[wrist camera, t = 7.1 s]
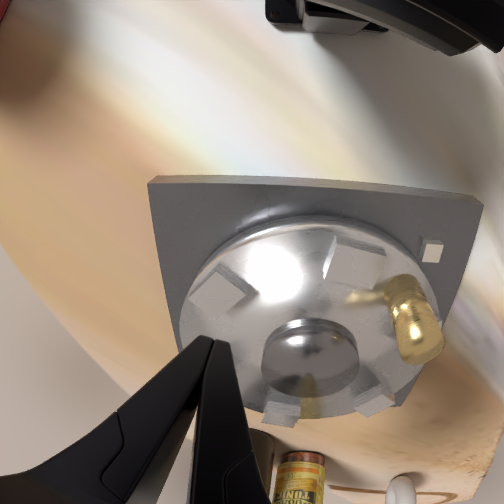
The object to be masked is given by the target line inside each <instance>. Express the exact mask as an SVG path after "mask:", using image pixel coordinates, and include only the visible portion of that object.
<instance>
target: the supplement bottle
mask: <svg viewBox="0 0 504 504" xmlns="http://www.w3.org/2000/svg"><path fill="white" fill-rule="evenodd" d="M249 431H250V436H251V440H252V444H253V448H254V450H253V451H254V452H255V456H256V460H257V464H258V467H259V471H260V474H261V477H262V481H263V484H264V486H265V489H266V492H267V494H268V497H269V493H270V485H271V477H272V469H273V461H274V451H275V442H274V440H273V439H272V438H271V437H270V436H269V435H268V434H266V433H264V432H262V431H259V430H255V429H250V428H249Z"/></svg>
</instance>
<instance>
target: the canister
mask: <svg viewBox="0 0 504 504" xmlns="http://www.w3.org/2000/svg"><path fill="white" fill-rule="evenodd" d="M9 2H10V0H0V21H1V19H2V17H3V15H4V13H5V11H6V9H7V6H8V4H9Z"/></svg>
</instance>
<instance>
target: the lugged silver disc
mask: <svg viewBox="0 0 504 504" xmlns="http://www.w3.org/2000/svg"><path fill="white" fill-rule="evenodd" d="M179 326H180V338H181V342H182V347H183V349H184V348H185V347H187V346H188V345H189V344H190V343H191V342H192V341H193V340H194V339H195V338H196V337H197V336H199V335H204V336H208V337H212V338H213V339H214V340H215V339H219V340H223V341H227V342H229V343H230V346H231V351H232V355H233V360H234V365H235V369H236V374H237V379H238V383H239V388H240V392H241V397H242V401H243V406H244V407H246V408H248V409H251V410H254V411H257V412H261V413H263V414H262V422H261V423H266V424H272V425H278V426H284V427H291V428H293V427H294V425H295V424H296V422H297V421H298V419H318V418H328V417H335V416H340V415H345V414H349V413H353V412H356V411H357V412H359V413H361V414H362V415H364V416H366V417H369V416H372V415H374V414H376V413H378V412H380V411H382V410H384V409H386V408H388V407H390V406H392V405H394V404H395V397H394V393H396V392H397V391H398V390H400V389H401V388H403V387H404V386H405V385H406V384H407V383H408V382H409V381H411V380H412V379H413V378H414V376H415V375H416V374H417V373H418V372H419V371H420V370H421V368H422V367H423V365H424V364H425V363H426V362H429V361H431V360H432V359H434V358H435V357H436V356H438V355H439V354H440V352H441V351H442V350H443V348H444V345H445V339H444V336H443V334H442V331H441V328H442V320H441V318H440V315H439V310H438V305H437V301H436V298H435V295H434V293H433V290H432V288H431V286H430V284H429V282H428V280H427V278H426V276H425V274H424V272H423V271H422V269H421V267H420V265H419V264H418V263H417V261H416V260H415V258H414V257H413V255H412V254H411V253H410V252H409V251H408V250H407V249H406V248H405V247H404V246H403V245H402V244H401V243H399V242H398V241H397V240H395V239H394V238H393V237H391V236H390V235H388V234H386V233H385V232H383V231H381V230H379V229H377V228H375V227H373V226H370V225H368V224H365V223H362V222H359V221H356V220H352V219H347V218H342V217H337V216H325V215H303V216H292V217H287V218H281V219H276V220H272V221H269V222H266V223H263V224H260V225H257V226H254V227H252V228H250V229H248V230H246V231H244V232H242V233H240V234H238V235H236V236H235V237H233V238H232V239H230V240H229V241H227V242H226V243H224V244H223V245H222V246H221V247H220V248H218V249H217V250H216V251H215V252H214V253H213V254H212V255H211V256H210V257H209V258H208V260H207V261H206V262H205V263H204V264H203V266H202V267H201V269H200V271H199V272H198V274H197V276H196V277H195V279H194V281H193V284H192V286H191V288H190V290H189V292H188V294H187V296H186V298H185V301H184V304H183V307H182V310H181V315H180V322H179Z"/></svg>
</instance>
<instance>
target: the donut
mask: <svg viewBox="0 0 504 504" xmlns="http://www.w3.org/2000/svg"><path fill="white" fill-rule="evenodd" d="M385 504H416V491H415V487H414V484H413V482H412V481H411V479H410V478H408V477H405V476H398V477H396V478H395V479H393V480H392V481H391V482H390V484H389V486H388V488H387V491H386V497H385Z"/></svg>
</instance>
